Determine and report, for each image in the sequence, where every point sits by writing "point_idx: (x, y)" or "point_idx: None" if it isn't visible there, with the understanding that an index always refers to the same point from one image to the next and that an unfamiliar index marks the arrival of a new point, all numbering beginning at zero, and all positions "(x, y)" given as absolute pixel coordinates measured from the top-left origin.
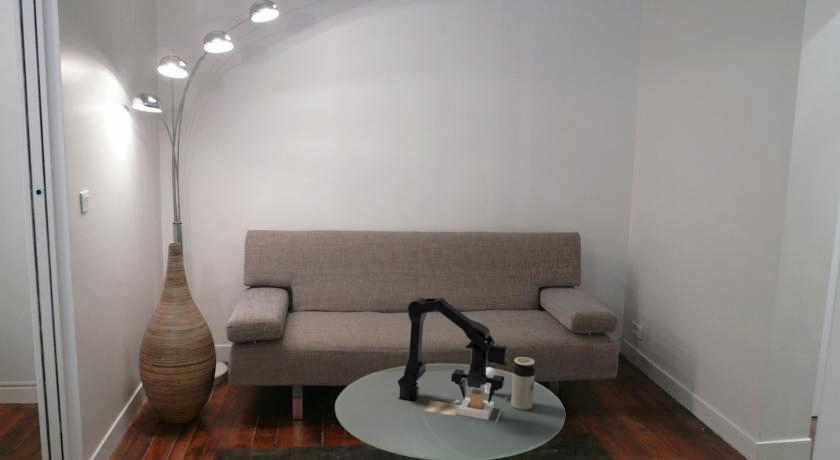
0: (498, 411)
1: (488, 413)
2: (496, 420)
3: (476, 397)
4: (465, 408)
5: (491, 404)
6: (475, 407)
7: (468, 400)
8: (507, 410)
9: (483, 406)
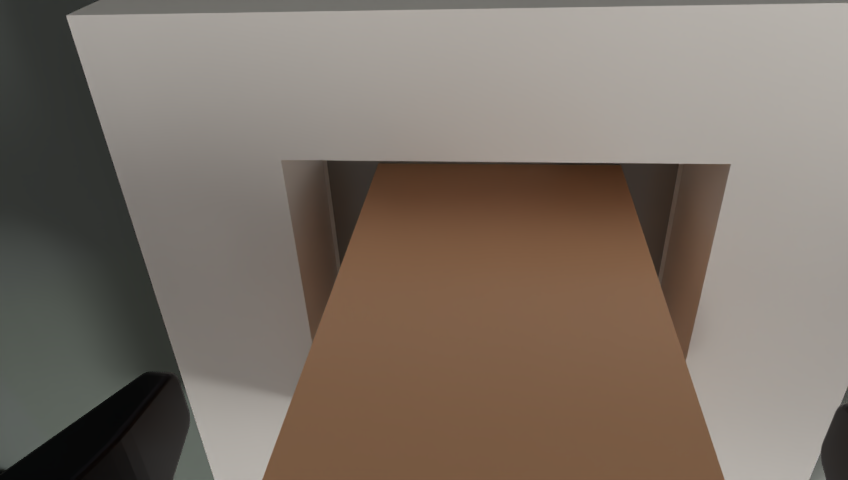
0: (178, 367)
1: (69, 17)
2: (53, 76)
3: (462, 435)
4: (762, 67)
5: (215, 422)
6: (490, 223)
7: None
8: None
9: None
